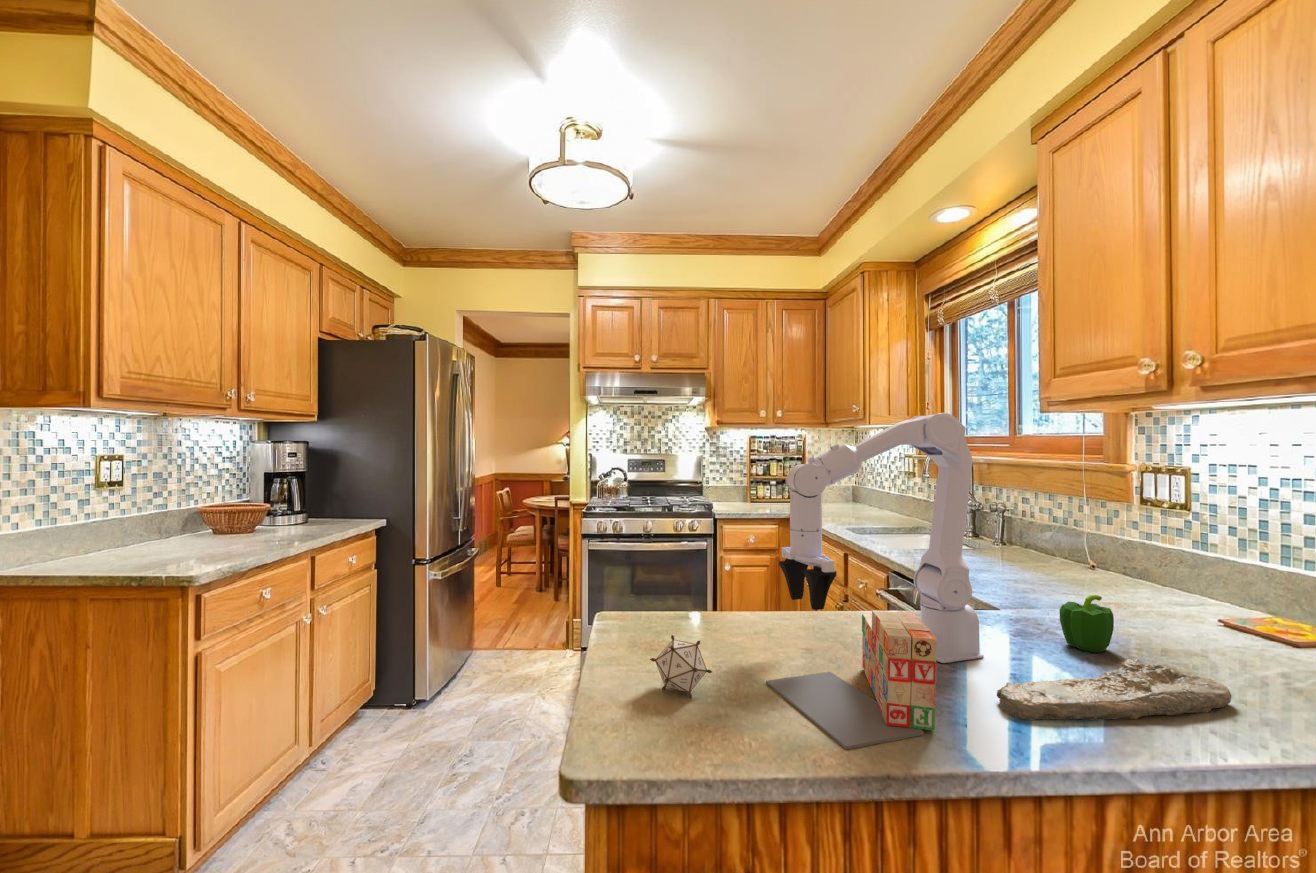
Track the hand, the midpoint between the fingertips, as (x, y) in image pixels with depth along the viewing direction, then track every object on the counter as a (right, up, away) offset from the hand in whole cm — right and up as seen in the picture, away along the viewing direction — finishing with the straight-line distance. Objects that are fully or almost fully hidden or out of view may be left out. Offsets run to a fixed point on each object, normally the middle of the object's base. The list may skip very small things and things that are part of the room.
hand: (806, 603), depth 102 cm
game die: (-24, -9, -15) cm, 29 cm away
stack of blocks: (+9, -9, -17) cm, 21 cm away
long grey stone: (+39, -9, -20) cm, 45 cm away
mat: (-1, -9, -20) cm, 22 cm away
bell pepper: (+54, -9, +3) cm, 54 cm away
